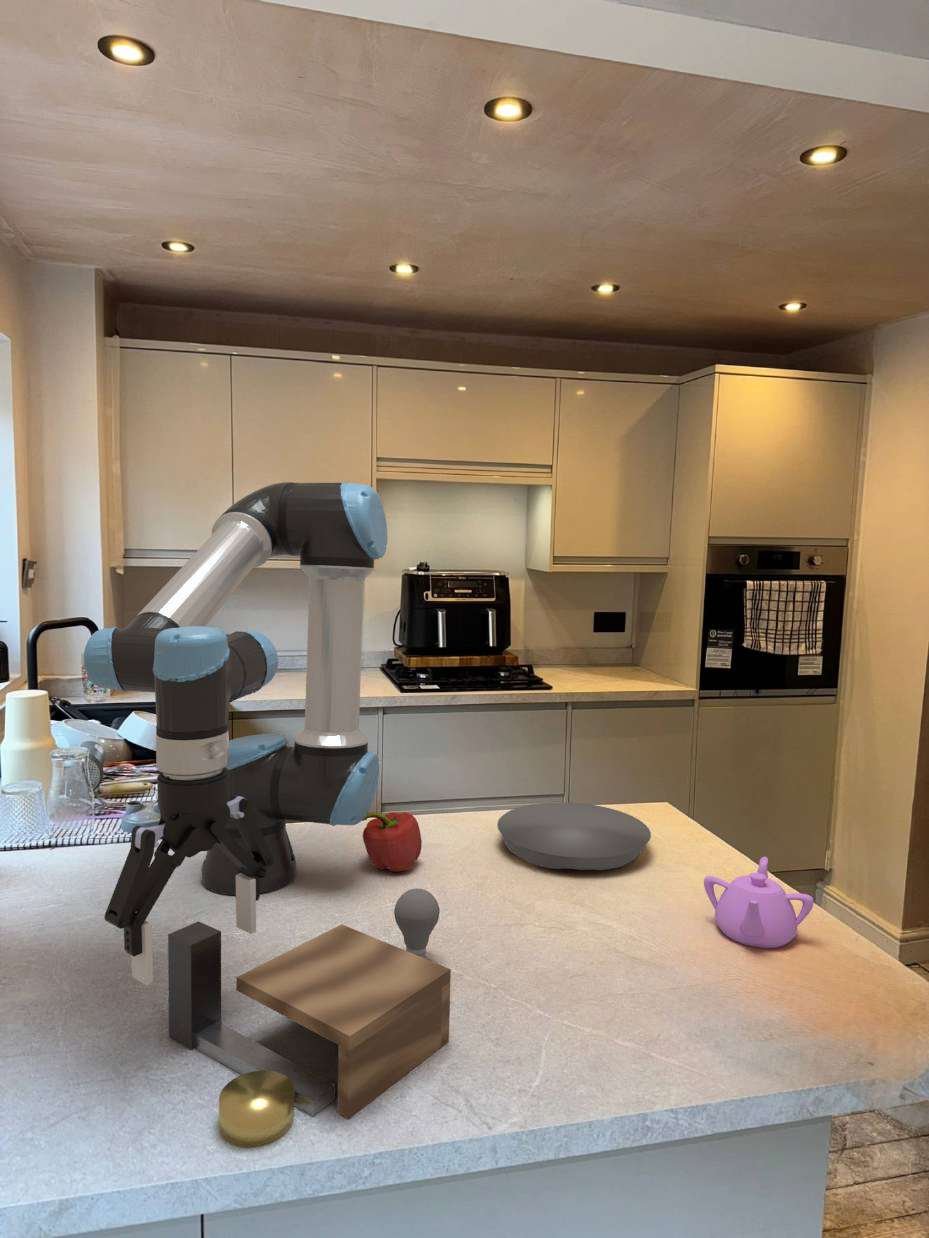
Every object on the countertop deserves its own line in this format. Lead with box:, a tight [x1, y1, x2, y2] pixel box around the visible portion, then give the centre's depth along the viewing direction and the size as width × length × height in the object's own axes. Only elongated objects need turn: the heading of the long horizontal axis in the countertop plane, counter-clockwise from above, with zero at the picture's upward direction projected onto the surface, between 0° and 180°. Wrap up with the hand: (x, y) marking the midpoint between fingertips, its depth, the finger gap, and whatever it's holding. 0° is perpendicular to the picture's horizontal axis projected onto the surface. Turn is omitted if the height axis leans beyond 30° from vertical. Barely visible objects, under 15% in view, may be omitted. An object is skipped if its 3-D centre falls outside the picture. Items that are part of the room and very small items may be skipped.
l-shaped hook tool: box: [167, 920, 336, 1117], centre depth 87 cm, size 22×4×12 cm, turn 55°
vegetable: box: [361, 811, 423, 873], centre depth 141 cm, size 11×10×10 cm
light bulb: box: [393, 888, 440, 959], centre depth 109 cm, size 6×6×10 cm
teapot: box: [703, 856, 815, 949], centre depth 121 cm, size 12×14×9 cm
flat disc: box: [496, 801, 652, 871], centre depth 152 cm, size 28×28×4 cm
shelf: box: [235, 924, 452, 1120], centre depth 91 cm, size 17×16×8 cm
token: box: [218, 1070, 295, 1149], centre depth 79 cm, size 7×7×3 cm
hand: (197, 953), depth 93 cm, fingers open, 13 cm apart
